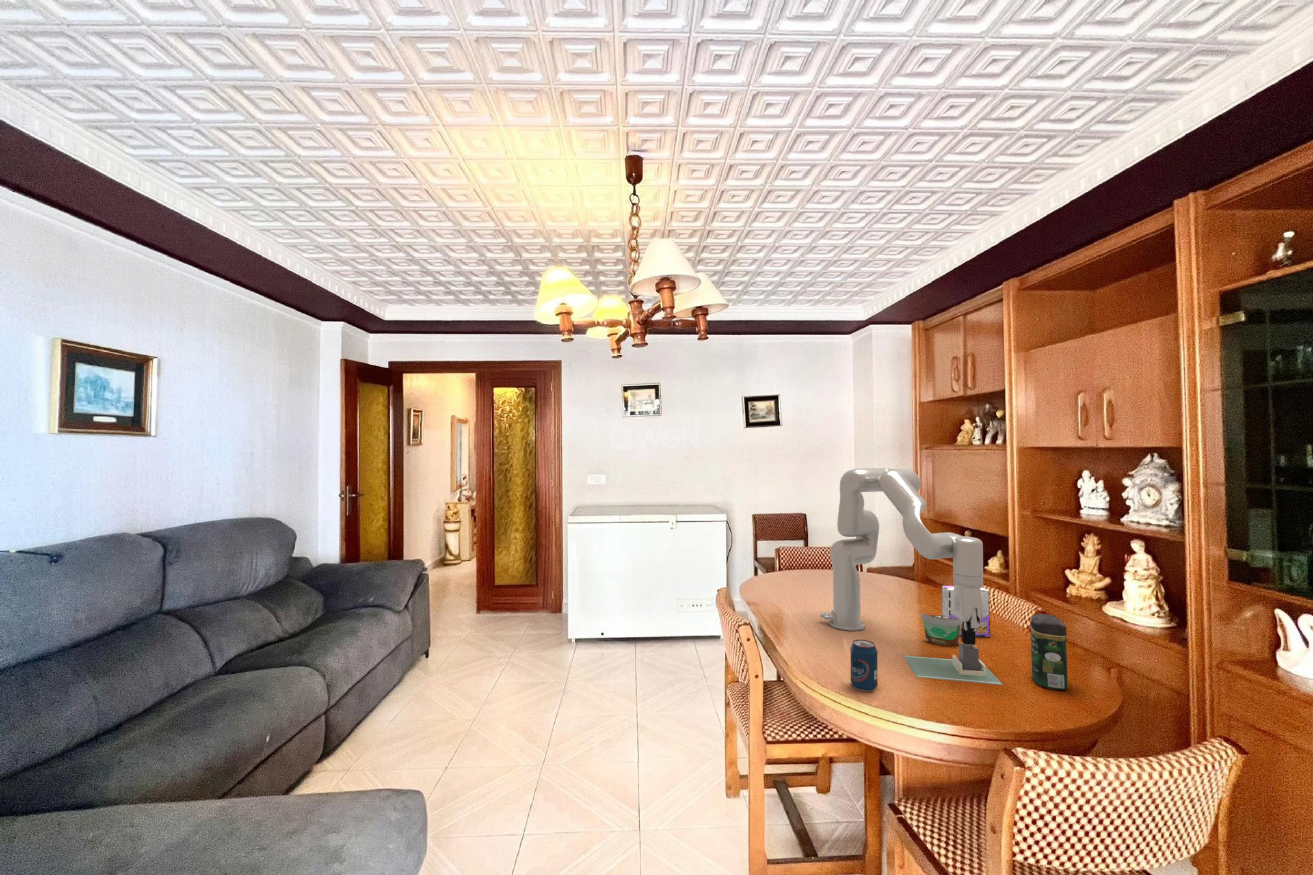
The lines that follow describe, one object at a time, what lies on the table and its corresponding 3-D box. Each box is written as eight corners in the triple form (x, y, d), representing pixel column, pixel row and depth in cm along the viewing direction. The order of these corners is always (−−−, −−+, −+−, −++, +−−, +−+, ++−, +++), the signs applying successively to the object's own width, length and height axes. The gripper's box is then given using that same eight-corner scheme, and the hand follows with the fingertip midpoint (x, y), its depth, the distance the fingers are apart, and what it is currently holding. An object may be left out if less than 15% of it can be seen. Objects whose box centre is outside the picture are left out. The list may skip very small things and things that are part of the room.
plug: (963, 672, 152) (963, 646, 152) (958, 666, 156) (958, 641, 156) (978, 673, 151) (978, 647, 151) (973, 668, 155) (973, 642, 155)
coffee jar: (1028, 673, 154) (1028, 610, 154) (1062, 679, 150) (1061, 613, 151) (1034, 687, 145) (1034, 619, 146) (1070, 693, 142) (1069, 624, 142)
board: (916, 681, 149) (916, 676, 149) (902, 659, 165) (902, 654, 165) (1003, 689, 144) (1003, 684, 144) (981, 665, 160) (981, 661, 160)
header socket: (960, 674, 151) (960, 663, 151) (952, 665, 157) (952, 654, 157) (985, 676, 149) (985, 665, 149) (977, 667, 156) (977, 656, 156)
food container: (920, 646, 175) (920, 616, 175) (921, 640, 180) (920, 611, 181) (963, 653, 169) (963, 622, 169) (962, 646, 175) (962, 616, 175)
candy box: (982, 631, 189) (981, 585, 189) (990, 637, 183) (990, 590, 184) (941, 630, 190) (941, 584, 191) (949, 636, 185) (948, 589, 185)
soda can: (846, 686, 145) (845, 642, 146) (857, 678, 150) (857, 636, 151) (871, 695, 141) (870, 649, 141) (881, 686, 145) (881, 643, 146)
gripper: (945, 573, 162) (946, 633, 162) (962, 585, 147) (963, 651, 147) (972, 574, 160) (973, 635, 160) (992, 587, 146) (993, 654, 145)
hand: (968, 643), depth 153 cm, fingers closed
